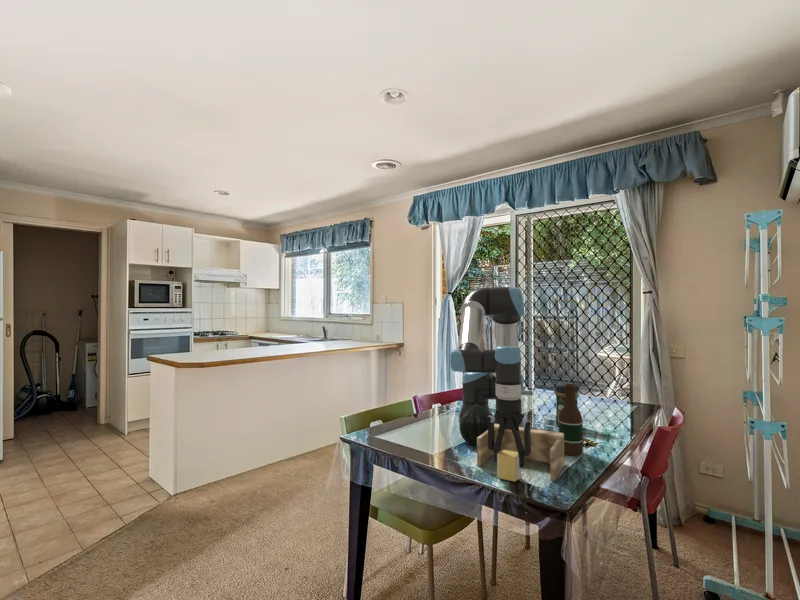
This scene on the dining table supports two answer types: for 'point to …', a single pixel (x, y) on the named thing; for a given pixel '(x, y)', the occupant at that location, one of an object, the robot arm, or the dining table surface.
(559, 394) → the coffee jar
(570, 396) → the beer bottle
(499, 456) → the block
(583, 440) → the lily flower
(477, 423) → the squash
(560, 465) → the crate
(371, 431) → the dining table surface
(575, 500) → the dining table surface
